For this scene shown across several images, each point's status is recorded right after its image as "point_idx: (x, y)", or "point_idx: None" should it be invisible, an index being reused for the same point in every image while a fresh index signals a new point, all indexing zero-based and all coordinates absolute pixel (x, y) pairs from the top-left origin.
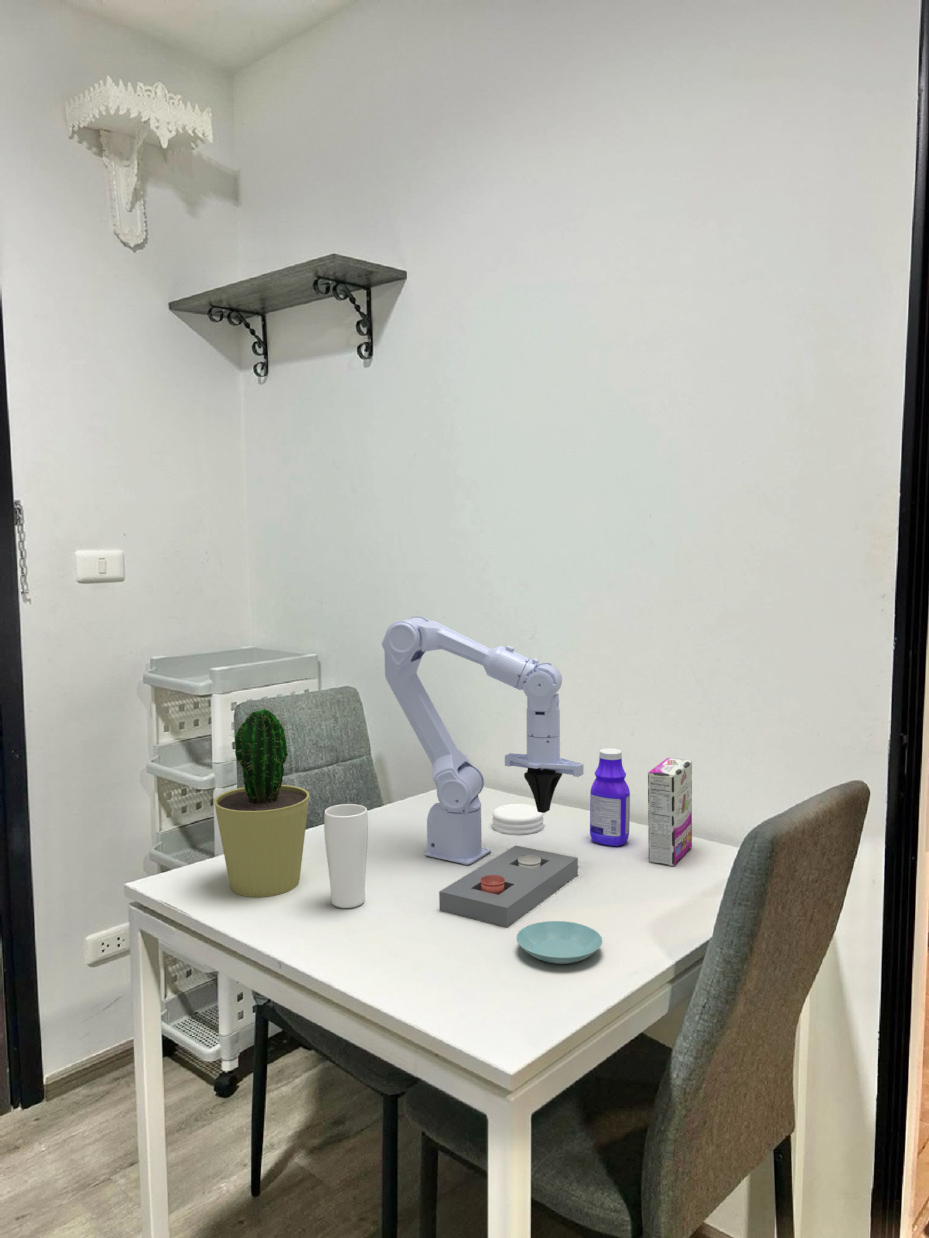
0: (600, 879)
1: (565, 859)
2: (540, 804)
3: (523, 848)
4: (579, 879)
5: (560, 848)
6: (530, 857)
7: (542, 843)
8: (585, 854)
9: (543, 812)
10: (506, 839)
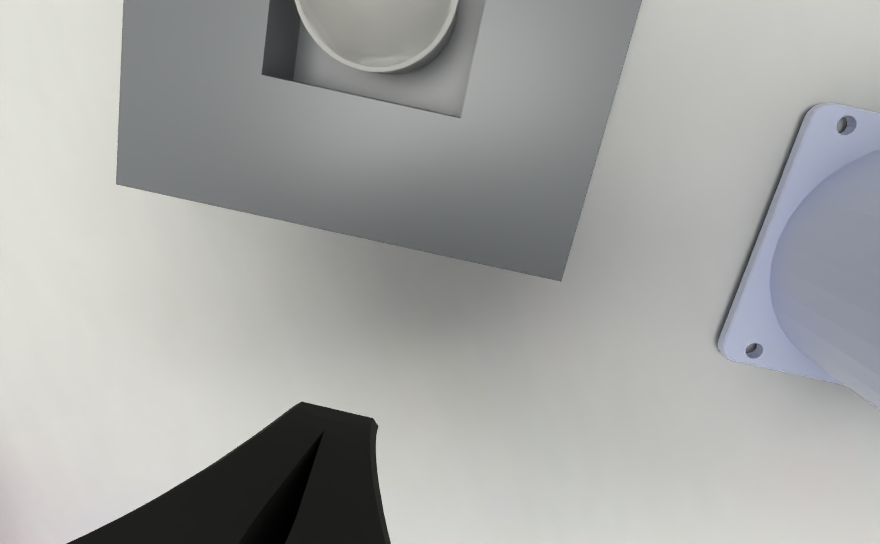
0: (48, 149)
1: (174, 128)
2: (304, 443)
3: (495, 240)
4: None
5: None
6: (380, 25)
7: (480, 532)
8: None
9: (303, 403)
10: (673, 539)
